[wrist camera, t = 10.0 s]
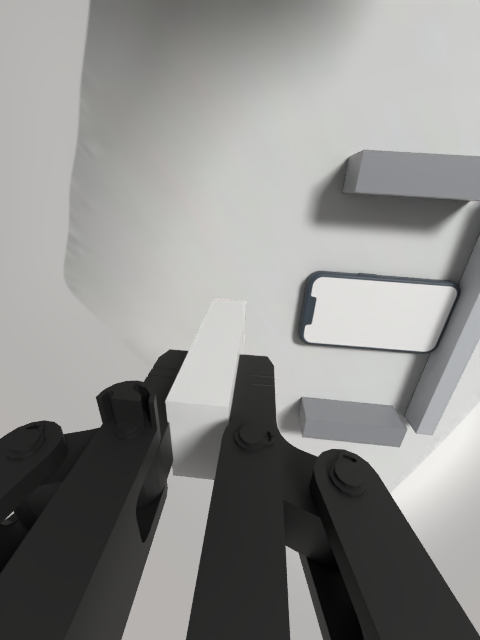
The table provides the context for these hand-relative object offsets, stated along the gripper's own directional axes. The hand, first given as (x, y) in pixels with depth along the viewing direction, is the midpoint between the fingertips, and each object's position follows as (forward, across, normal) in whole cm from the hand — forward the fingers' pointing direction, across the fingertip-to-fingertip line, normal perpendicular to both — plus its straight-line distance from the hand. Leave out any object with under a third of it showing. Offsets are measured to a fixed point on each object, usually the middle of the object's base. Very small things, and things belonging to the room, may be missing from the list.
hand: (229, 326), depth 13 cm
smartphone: (+19, +14, -6) cm, 25 cm away
